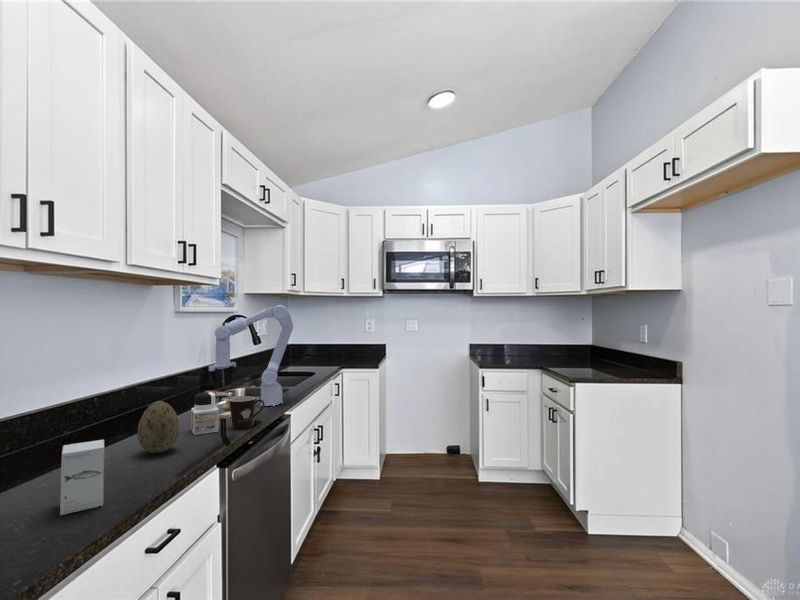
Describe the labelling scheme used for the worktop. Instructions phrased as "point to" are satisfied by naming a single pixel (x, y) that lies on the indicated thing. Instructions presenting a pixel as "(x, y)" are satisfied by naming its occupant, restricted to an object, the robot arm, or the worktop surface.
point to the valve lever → (221, 393)
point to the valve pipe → (224, 404)
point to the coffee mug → (243, 412)
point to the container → (204, 414)
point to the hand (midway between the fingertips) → (222, 385)
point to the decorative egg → (158, 427)
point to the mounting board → (225, 414)
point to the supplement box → (82, 476)
